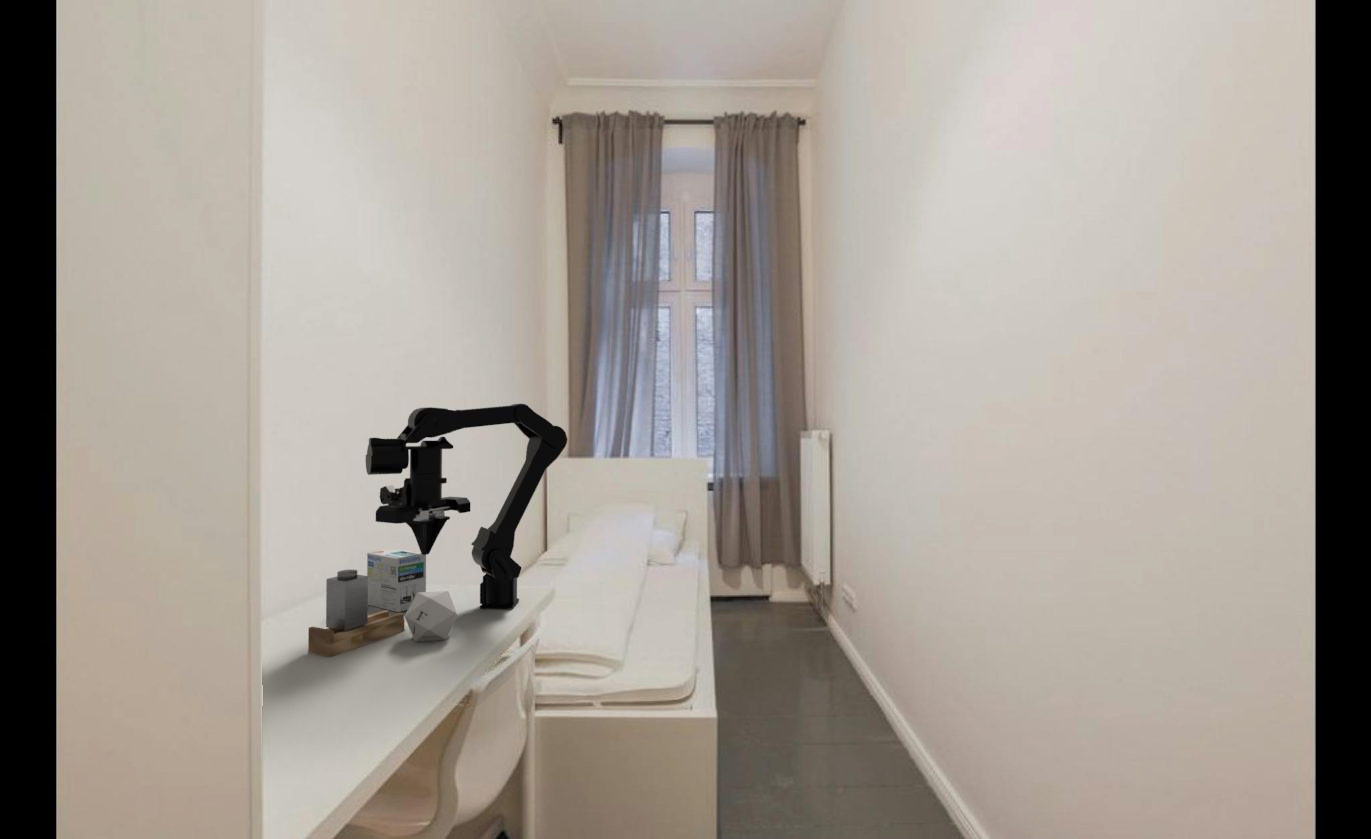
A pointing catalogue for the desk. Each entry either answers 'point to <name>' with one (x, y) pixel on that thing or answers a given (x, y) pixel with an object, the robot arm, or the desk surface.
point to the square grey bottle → (346, 601)
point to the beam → (354, 634)
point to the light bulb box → (395, 578)
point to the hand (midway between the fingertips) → (425, 554)
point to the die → (431, 616)
